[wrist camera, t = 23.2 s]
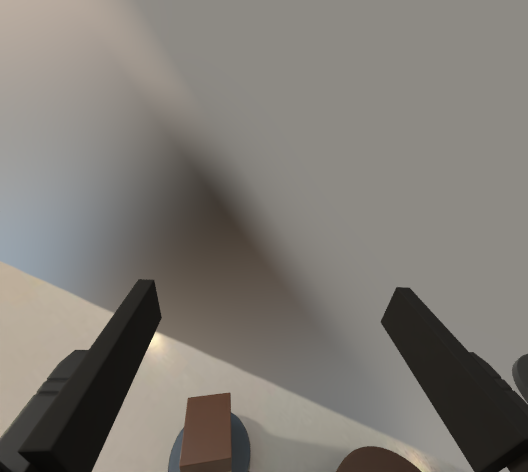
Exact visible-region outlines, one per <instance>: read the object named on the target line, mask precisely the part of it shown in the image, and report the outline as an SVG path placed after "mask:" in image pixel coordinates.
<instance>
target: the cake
mask: <svg viewBox="0 0 528 472" xmlns="http://www.w3.org/2000/svg"><path fill="white" fill-rule="evenodd" d="M336 472H421V471H420V470H419V469H418V468H417V467H416V466H415V465H413V464H412V463H411V462H409V461H408V460H406V459H405V458H403V457H402V456H400V455H398V454H396V453H394V452H392V451H390V450H387V449H384V448H380V447H374V446H367V447H362V448H359V449H356V450H354V451H353V452H351V453H350V454H349V455H348V456H347V457H346V458H345V459H344V460H343V461H342V463H341V464H340V466H339V467H338V469H337V471H336Z"/></svg>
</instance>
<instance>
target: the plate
mask: <svg viewBox="0 0 528 472" xmlns="http://www.w3.org/2000/svg"><path fill="white" fill-rule="evenodd" d="M183 432H184V428H183V429H182V430H181V432H180V433H179V435H178V437H177V439H176V441H175V443H174V445H173V448H172V451H171V455H170V459H169V466H168V472H180V468H179V463H180V455H181V447H182V440H183ZM231 448H232V465H231V472H248V469H249V463H250V443H249V438H248V434H247V432H246V429H245V427H244V425H243V424H242V422H241V421H240V419H239V418H238V417H237V416H236V415H234V414H233V413H231Z"/></svg>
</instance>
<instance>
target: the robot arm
mask: <svg viewBox="0 0 528 472" xmlns="http://www.w3.org/2000/svg"><path fill="white" fill-rule="evenodd" d="M161 318H162V317H161V313H160V307H159V302H158V297H157V292H156V287H155V282H154V280H142V279H140V280H138V281H137V282H136V284H135V285H134V287H133V288H132V290H131V291H130V293H129V294H128V295H127V297H126V298H125V299H124V301H123V302H122V304H121V305H120V307H119V308H118V309H117V311H116V312H115V314H114V315H113V317H112V318H111V319H110V321H109V322H108V324H107V325H106V326H105V328H104V329H103V331H102V332H101V334H100V335H99V336H98V338H97V339H96V341H95V342H94V343H93V345H92V346H91V348H90V349H89V350H75V351H73V352H72V353H71V354H70V355H68V356H67V357H66V358H65V359H64V360H62V361H61V362H60V363H59V364H58V365H57V367H56V368H55V369H54V370H53V372H52V373H51V374H50V375H49V377H48V378H47V381H45V382H44V383H43V384H42V386H41V387H40V388H39V389H38V391H37V394H36V395H34V396H33V397H32V398H31V400H30V401H29V402H28V403H27V405H26V406H25V407H24V408H23V410H22V411H21V412H20V414H19V415H18V416H17V417H16V419H15V420H14V421H13V422H12V424H11V425H10V426H9V428H8V429H7V430H6V431H5V433H4V434H3V435H2V436H1V438H0V472H92V470H93V467H94V465H95V463H96V461H97V459H98V456H99V454H100V452H101V450H102V448H103V445H104V443H105V441H106V439H107V437H108V434H109V432H110V430H111V428H112V426H113V423H114V421H115V419H116V417H117V415H118V412H119V410H120V408H121V406H122V404H123V401H124V399H125V397H126V395H127V393H128V390H129V388H130V386H131V384H132V382H133V379H134V377H135V375H136V373H137V371H138V368H139V366H140V364H141V362H142V360H143V358H144V355H145V353H146V351H147V349H148V347H149V344H150V342H151V340H152V338H153V336H154V333H155V331H156V329H157V327H158V324H159V322H160V320H161ZM381 323H382V325H383V326H384V328H385V330H386V331H387V333H388V334H389V336H390V337H391V339H392V341H393V342H394V344H395V346H396V347H397V349H398V350H399V352H400V354H401V355H402V357H403V358H404V360H405V361H406V363H407V365H408V366H409V368H410V370H411V371H412V373H413V374H414V376H415V377H416V379H417V381H418V382H419V384H420V385H421V387H422V389H423V390H424V392H425V393H426V395H427V397H428V398H429V400H430V402H431V403H432V405H433V406H434V408H435V410H436V411H437V413H438V414H439V416H440V417H441V419H442V421H443V422H444V424H445V425H446V427H447V429H448V430H449V432H450V433H451V435H452V437H453V438H454V440H455V441H456V443H457V445H458V446H459V448H460V449H461V451H462V453H463V454H464V456H465V457H466V459H467V461H468V462H469V464H470V465H471V467H472V469H473V470H474V472H499V471H500V470H502V469H503V468H505V467H507V468H508V469H509V471H510V472H528V404H526V402H525V401H524V400H523V399H522V398H521V397H520V396H519V395H518V394H517V393H516V392H515V391H513V390H512V388H511V387H510V386H509V385H508V384H507V383H506V381H505V380H502V379H501V376H500V375H499V374H498V373H497V372H496V371H495V370H494V369H493V368H492V367H491V366H490V365H489V364H488V363H487V362H485V361H484V360H483V359H482V358H480V357H479V356H477V355H476V354H475V353H474V352H468V351H467V350H466V349H465V348H464V346H463V345H462V344H461V343H460V342H459V341H458V340H457V339H456V338H455V337H454V336H453V335H452V333H450V331H449V330H448V329H447V328H446V327H445V326H444V325H443V324H442V323H441V322H440V320H439V319H438V318H437V317H436V316H435V315H434V314H433V313H432V312H431V311H430V309H429V308H427V306H426V305H425V304H424V303H423V302H422V301H421V300H420V299H419V298H418V296H417V295H416V294H415V293H414V292H413V291H412V290H411V289H410V288H401V287H397V288H396V290H395V292H394V294H393V296H392V298H391V300H390V303H389V305H388V307H387V309H386V311H385V313H384V316H383V318H382V320H381Z"/></svg>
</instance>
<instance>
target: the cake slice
mask: <svg viewBox="0 0 528 472" xmlns="http://www.w3.org/2000/svg"><path fill="white" fill-rule="evenodd" d="M231 465H232V448H231V398H230V393H223V394H215V395H207V396H199V397H191V398H188V401H187V409H186V417H185V424H184V432H183V440H182V447H181V455H180V463H179V468H180V472H231Z"/></svg>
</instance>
